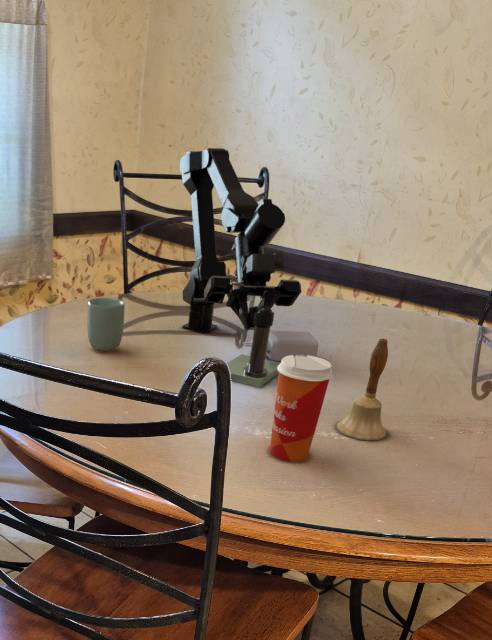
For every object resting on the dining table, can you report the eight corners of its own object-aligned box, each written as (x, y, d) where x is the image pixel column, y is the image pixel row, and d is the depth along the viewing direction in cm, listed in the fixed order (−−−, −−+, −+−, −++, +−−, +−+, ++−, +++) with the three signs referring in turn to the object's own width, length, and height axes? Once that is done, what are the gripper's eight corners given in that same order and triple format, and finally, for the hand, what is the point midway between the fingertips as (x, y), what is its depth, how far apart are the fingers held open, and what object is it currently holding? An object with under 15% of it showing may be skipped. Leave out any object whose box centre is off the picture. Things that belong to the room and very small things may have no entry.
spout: (272, 341, 137) (277, 308, 133) (254, 340, 136) (259, 308, 133) (259, 327, 145) (264, 296, 141) (242, 326, 144) (246, 295, 141)
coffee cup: (257, 442, 117) (272, 352, 109) (305, 443, 118) (324, 353, 110) (270, 465, 110) (287, 371, 102) (322, 465, 111) (343, 372, 103)
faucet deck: (240, 360, 153) (248, 308, 147) (283, 370, 149) (292, 317, 143) (215, 376, 143) (221, 321, 138) (259, 387, 139) (268, 331, 134)
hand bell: (389, 443, 119) (415, 349, 111) (338, 437, 120) (360, 344, 112) (382, 424, 126) (406, 334, 118) (334, 419, 127) (355, 329, 119)
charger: (238, 349, 160) (303, 351, 161) (246, 362, 152) (315, 364, 153) (241, 327, 158) (307, 330, 159) (249, 340, 150) (319, 342, 151)
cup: (118, 356, 152) (120, 308, 146) (83, 352, 153) (84, 304, 147) (125, 345, 158) (127, 299, 153) (91, 341, 159) (92, 295, 154)
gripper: (215, 232, 136) (220, 306, 133) (308, 237, 139) (315, 310, 136) (201, 266, 147) (205, 335, 144) (288, 270, 150) (294, 339, 146)
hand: (255, 329), depth 142 cm, fingers closed
